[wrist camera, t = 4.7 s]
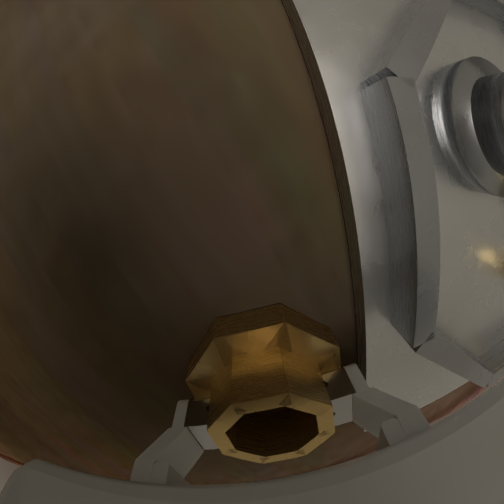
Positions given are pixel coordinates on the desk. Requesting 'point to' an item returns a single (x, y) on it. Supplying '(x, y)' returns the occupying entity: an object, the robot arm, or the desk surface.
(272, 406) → the flanged octagonal bushing
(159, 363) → the desk surface
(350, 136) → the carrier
